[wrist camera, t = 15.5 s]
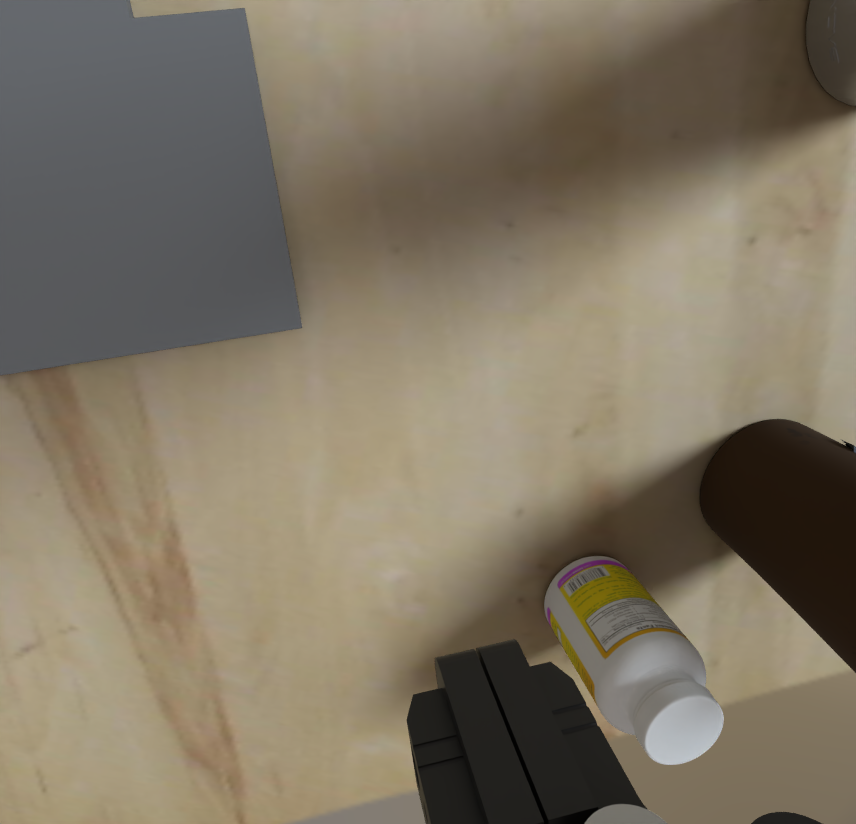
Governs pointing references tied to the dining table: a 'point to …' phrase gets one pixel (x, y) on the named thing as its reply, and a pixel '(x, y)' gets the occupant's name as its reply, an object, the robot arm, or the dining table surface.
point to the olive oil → (792, 520)
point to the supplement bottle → (633, 659)
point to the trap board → (133, 185)
